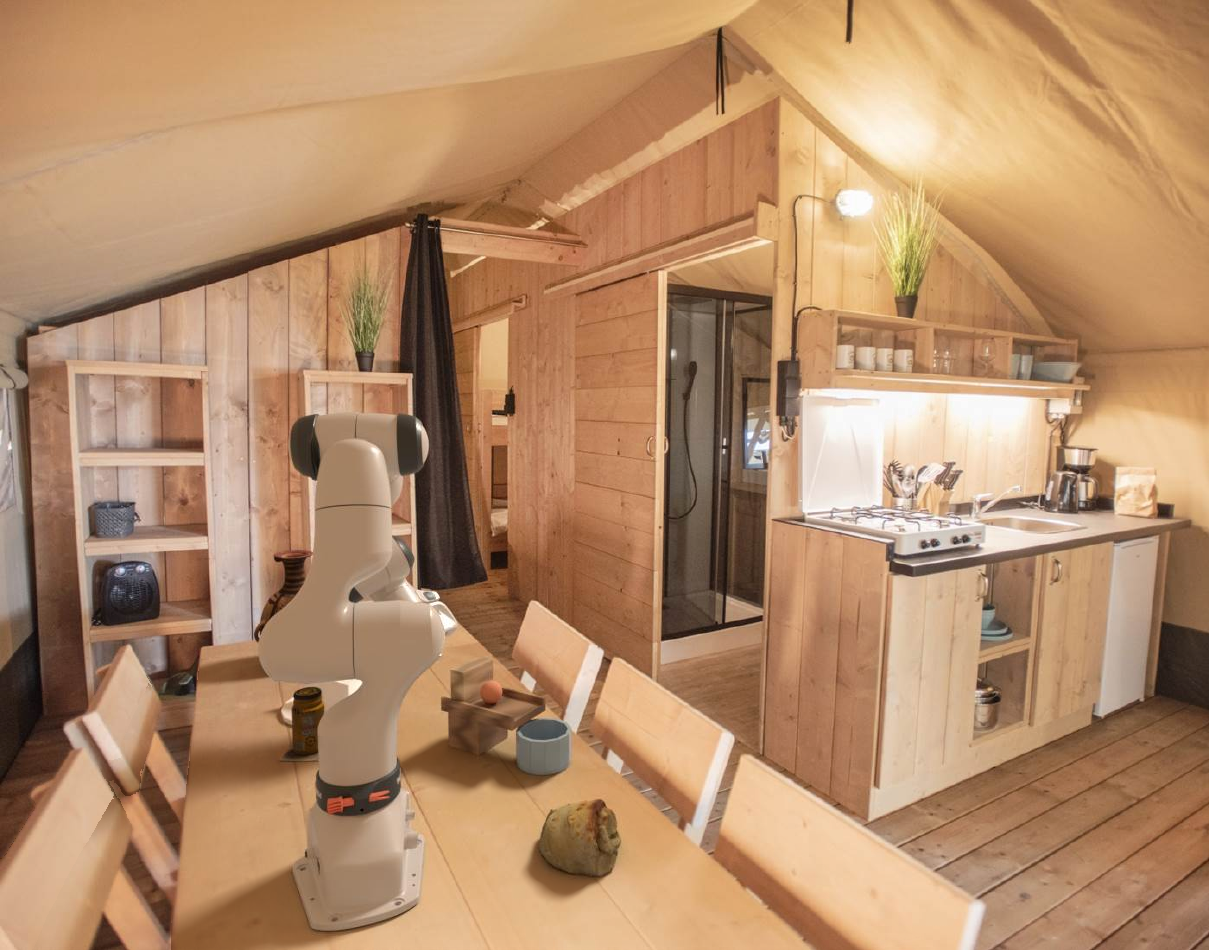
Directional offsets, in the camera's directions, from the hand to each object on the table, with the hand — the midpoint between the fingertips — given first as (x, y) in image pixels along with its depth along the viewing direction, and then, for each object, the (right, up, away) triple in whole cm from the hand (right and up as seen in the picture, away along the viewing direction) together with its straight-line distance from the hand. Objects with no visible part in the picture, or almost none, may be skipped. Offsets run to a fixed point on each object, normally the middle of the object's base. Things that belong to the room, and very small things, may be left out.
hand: (435, 660), depth 149 cm
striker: (+9, -6, -4) cm, 12 cm away
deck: (+13, -16, -7) cm, 22 cm away
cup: (+24, -16, -13) cm, 32 cm away
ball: (+13, -4, -7) cm, 15 cm away
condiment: (-24, -16, -9) cm, 30 cm away
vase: (-48, -12, +42) cm, 64 cm away
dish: (-25, -14, +13) cm, 32 cm away
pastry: (+32, -19, -41) cm, 55 cm away
